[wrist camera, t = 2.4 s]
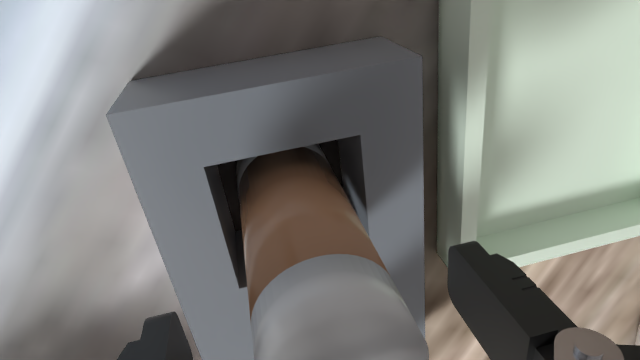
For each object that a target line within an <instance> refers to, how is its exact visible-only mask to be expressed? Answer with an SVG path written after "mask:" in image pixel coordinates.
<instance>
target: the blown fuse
mask: <svg viewBox="0 0 640 360" xmlns="http://www.w3.org/2000/svg"><path fill="white" fill-rule="evenodd" d="M236 171H237V183H238V194H239V205H240V215H241V226H242V236H243V247H244V258H245V268H246V279H247V289H248V300H249V311H250V321H251V332H252V342H253V353H254V360H429V352H428V346H427V343H426V341H425V339H424V337H423V335H422V333H421V331H420V330H419V328H418V326H417V324H416V322H415V320H414V319H413V317H412V315H411V313H410V311H409V309H408V308H407V306H406V304H405V302H404V300H403V298H402V297H401V295H400V293H399V291H398V289H397V287H396V286H395V284H394V282H393V280H392V278H391V276H390V275H389V273H388V271H387V269H386V267H385V265H384V264H383V262H382V260H381V258H380V256H379V254H378V252H377V251H376V249H375V247H374V245H373V243H372V241H371V240H370V238H369V236H368V234H367V232H366V230H365V229H364V227H363V225H362V223H361V221H360V219H359V218H358V216H357V214H356V212H355V210H354V208H353V207H352V205H351V203H350V201H349V199H348V197H347V196H346V194H345V192H344V190H343V188H342V186H341V185H340V183H339V181H338V179H337V177H336V175H335V174H334V172H333V170H332V168H331V166H330V164H329V163H328V161H327V159H326V157H325V155H324V153H323V152H322V150H321V148H320V146H319V145H318V144H313V145H308V146H304V147H299V148H294V149H289V150H284V151H279V152H275V153H270V154H265V155H260V156H255V157H250V158H246V159H241V160H238V161H237V167H236Z"/></svg>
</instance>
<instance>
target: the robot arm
mask: <svg viewBox="0 0 640 360" xmlns="http://www.w3.org/2000/svg"><path fill="white" fill-rule="evenodd" d="M448 292H449V295H450V298H451V301H452V303H453V305H454V306H455V308H456V309H457V311H458V312H459V314H460V315H461V317H462V318H463V320H464V321H465V323H466V324H467V326H468V327H469V328H470V330H471V331H472V333H473V334H474V336H475V337H476V339H477V340H478V342H479V343H480V345H481V346H482V348H483V349H484V350H485V352H486V353H487V355H488V356H489V358H490V359H491V360H640V345H617V344H615V343H614V342H613V341H611V340H610V339H609V338H607V337H606V336H604V335H602V334H600V333H598V332H596V331H593V330H590V329H586V328H578V327H577V326H576V325H575V324H574V323H573V322H572V321H571V320H570V319H569V318H568V317H567V316H566V315H565V314H564V313H563V312H562V311H561V310H560V309H559V308H558V307H557V306H556V305H555V304H554V303H553V302H552V301H551V300H550V299H549V298H548V297H547V295H546V294H545V293H544V292H543V291H542V290H541V289H540V288H537V287H536V284H535V283H534V282H533V281H532V280H531V279H530V278H529V277H528V278H527V276H526V274H525V273H524V272H523V271H522V270H521V269H520V268H519V267H518V266H517V265H516V264H515V263H514V262H512V261H510V260H509V259H507V258H505V257H503V256H501V255H499V254H497V253H496V254H492V255H489V254H488V252H487V251H486V250H485V249H484V248H483V247H482V246H481V245H480V244H479V243H478V242H477V241H470V242H466V243H462V244H458V245H454V246H450V248H449V251H448ZM117 360H193V357H192V352H191V349H190V346H189V344H188V341H187V339H186V336H185V333H184V331H183V328H182V326H181V323H180V321H179V318H178V316H177V314H176V313H175V312H171V313H166V314H162V315H158V316H154V317H150V318H147V319H146V320H145V322H144V326H143V331H142V335H141V340H138V341H134V342H130V343H128V344H127V345H126V347H125V348H124V350H123V351H122V353H121V354H120V356H119V357H118V359H117Z"/></svg>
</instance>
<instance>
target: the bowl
mask: <svg viewBox="0 0 640 360" xmlns="http://www.w3.org/2000/svg"><path fill="white" fill-rule="evenodd" d="M635 345H640V324H639V327H638V331H637V335H636V342H635Z"/></svg>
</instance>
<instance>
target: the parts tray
mask: <svg viewBox="0 0 640 360" xmlns="http://www.w3.org/2000/svg"><path fill="white" fill-rule="evenodd" d="M637 236H640V0H439V40H438V159H437V254H438V255H439V256H440V258H441V259H442V260H443V262H444V263H445V264H446V266H447V267H448V251H449V248H450V246H454V245H458V244H462V243H466V242H470V241H477V242H478V243H479V244H480V245H481V246H482V247H483V248H484V249H485V250H486V251H487V252H488V254H489V255H492V254H496V253H497V254H499V255H501V256H503V257H505V258H507V259H509V260H510V261H512V262H514V263H515V264H516V265H517V266H518V267H522V266H525V265H529V264H533V263H537V262H541V261H545V260H549V259H552V258H556V257H560V256H564V255H568V254H572V253H576V252H579V251H583V250H587V249H591V248H595V247H599V246H602V245H606V244H610V243H614V242H618V241H622V240H626V239H629V238H633V237H637Z"/></svg>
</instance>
